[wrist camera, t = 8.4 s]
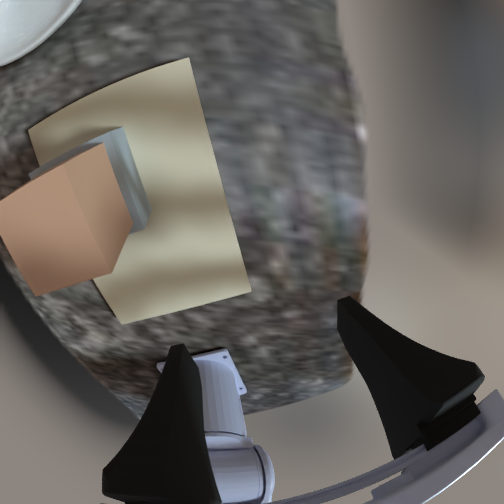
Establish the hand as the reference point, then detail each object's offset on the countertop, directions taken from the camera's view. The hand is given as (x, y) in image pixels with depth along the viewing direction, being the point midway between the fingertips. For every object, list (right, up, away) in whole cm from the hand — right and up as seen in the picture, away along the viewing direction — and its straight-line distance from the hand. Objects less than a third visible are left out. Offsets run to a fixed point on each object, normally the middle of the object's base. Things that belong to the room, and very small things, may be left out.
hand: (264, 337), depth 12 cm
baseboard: (-8, +7, +6) cm, 13 cm away
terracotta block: (-10, +7, +1) cm, 12 cm away
